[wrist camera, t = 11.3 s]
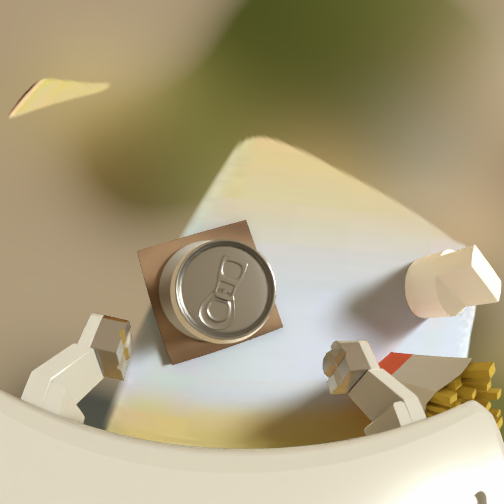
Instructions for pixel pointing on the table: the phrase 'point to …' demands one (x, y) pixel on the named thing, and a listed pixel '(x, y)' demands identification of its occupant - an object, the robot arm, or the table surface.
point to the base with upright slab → (450, 283)
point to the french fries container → (444, 381)
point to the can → (223, 291)
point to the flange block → (158, 286)
